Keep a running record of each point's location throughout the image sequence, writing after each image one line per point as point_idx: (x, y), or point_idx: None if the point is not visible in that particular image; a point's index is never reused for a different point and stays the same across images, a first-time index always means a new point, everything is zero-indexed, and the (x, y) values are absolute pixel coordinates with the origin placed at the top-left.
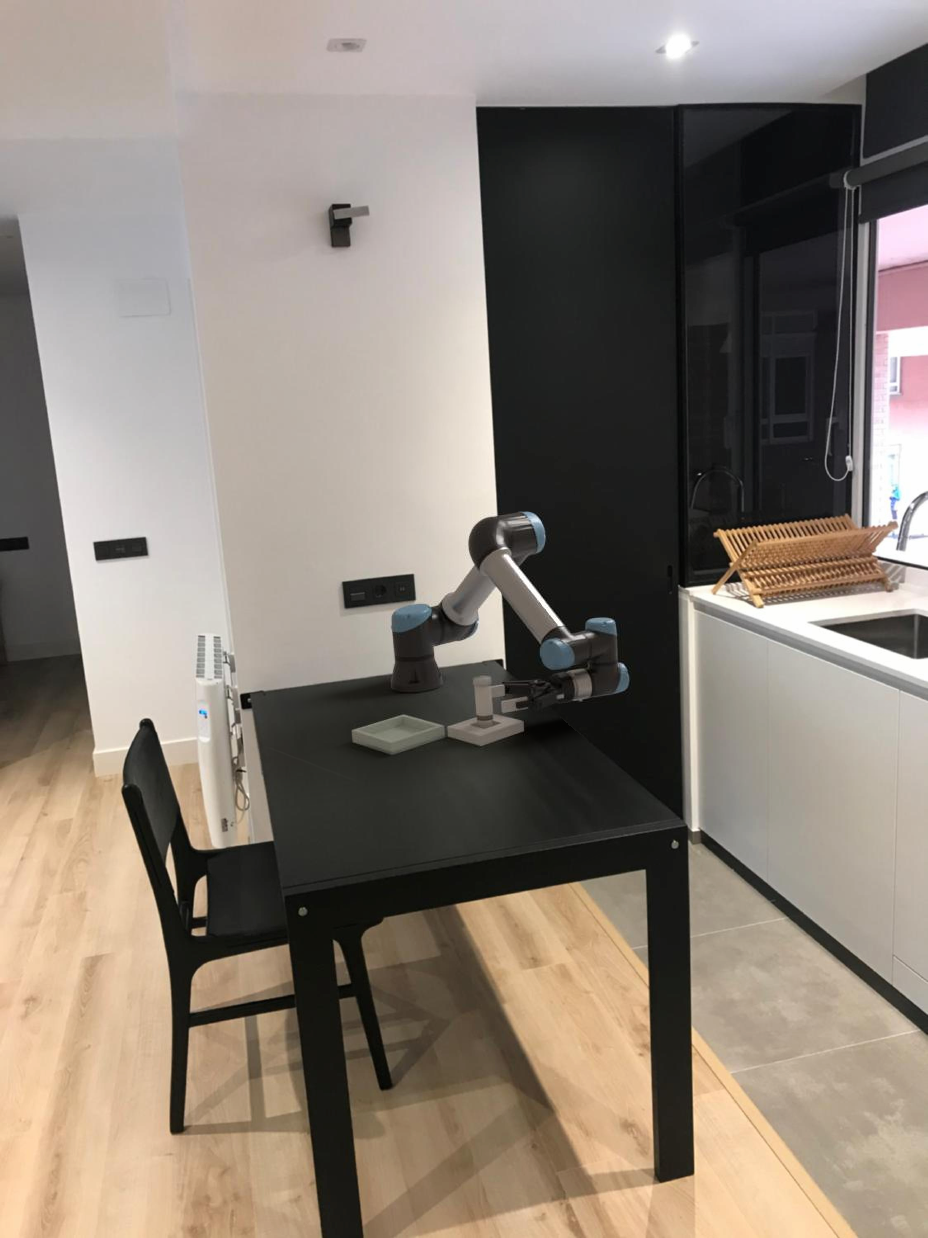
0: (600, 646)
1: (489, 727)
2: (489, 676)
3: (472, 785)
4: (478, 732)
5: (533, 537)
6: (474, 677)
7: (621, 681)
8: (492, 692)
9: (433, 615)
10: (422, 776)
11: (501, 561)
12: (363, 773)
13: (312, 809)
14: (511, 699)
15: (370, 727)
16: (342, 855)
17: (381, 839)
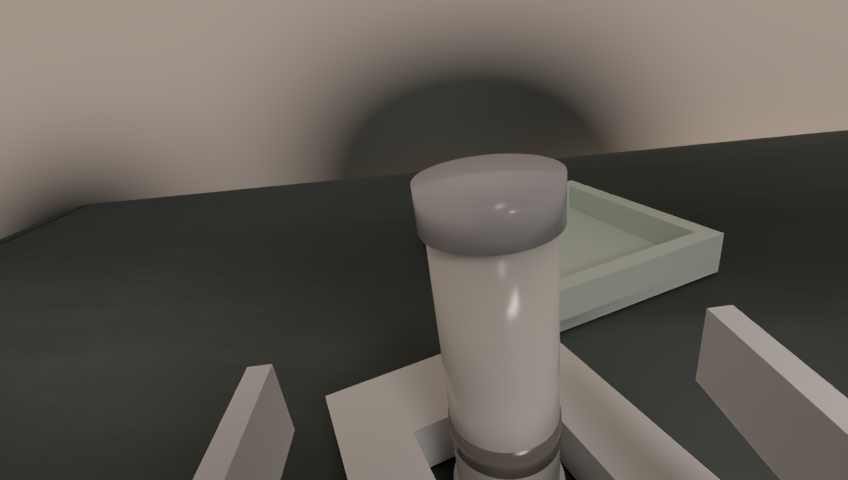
0: None
1: (423, 459)
2: (506, 195)
3: (66, 352)
4: (377, 397)
5: None
6: (528, 155)
7: None
8: (780, 428)
9: None
10: (242, 284)
11: None
12: (355, 225)
13: (262, 199)
14: (235, 435)
15: (595, 198)
16: (92, 222)
17: (74, 243)
